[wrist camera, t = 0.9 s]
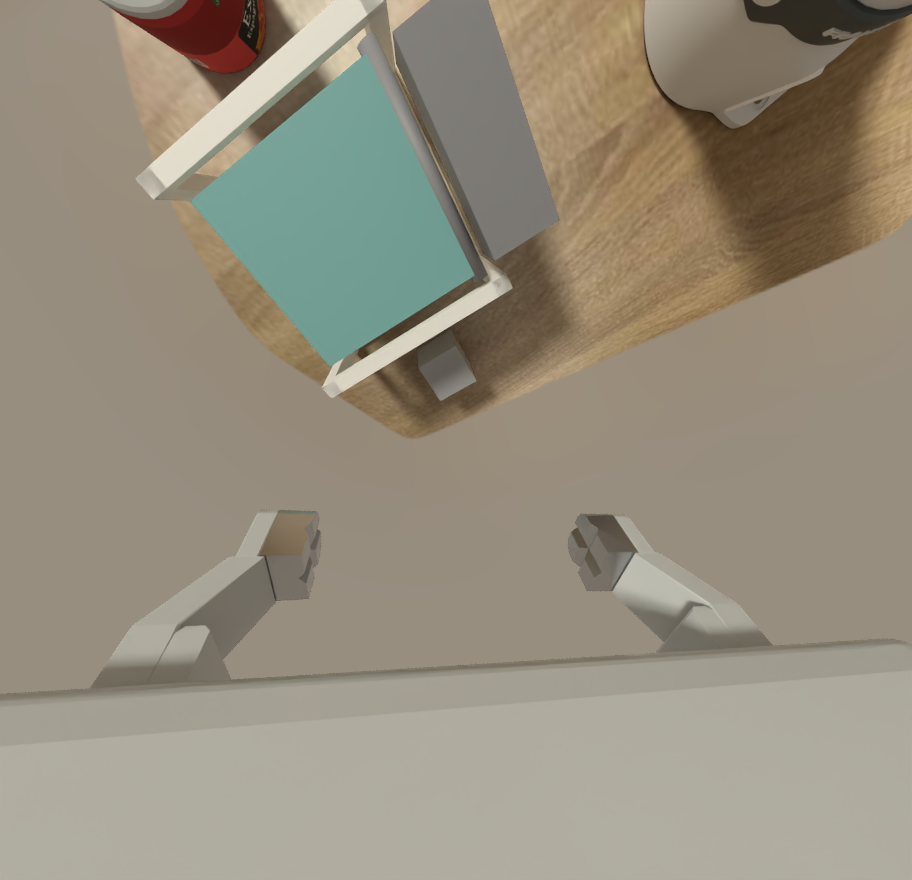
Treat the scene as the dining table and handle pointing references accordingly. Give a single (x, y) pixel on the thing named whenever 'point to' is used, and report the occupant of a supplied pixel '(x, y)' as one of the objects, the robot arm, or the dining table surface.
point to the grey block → (445, 365)
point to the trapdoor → (387, 183)
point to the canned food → (202, 28)
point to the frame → (292, 63)
